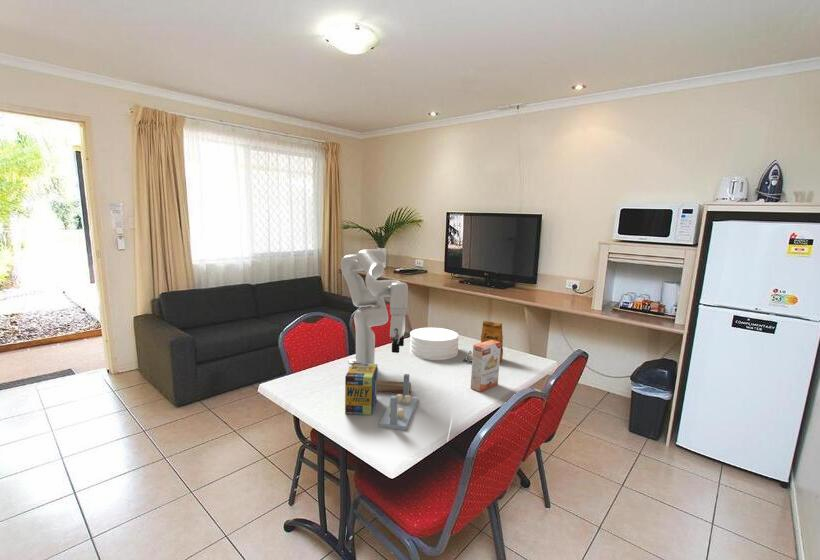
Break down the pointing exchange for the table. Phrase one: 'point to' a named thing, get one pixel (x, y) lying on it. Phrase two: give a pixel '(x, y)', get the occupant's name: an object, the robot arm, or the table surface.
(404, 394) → the stand
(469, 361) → the house of cards
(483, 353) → the cracker box
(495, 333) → the coffee package
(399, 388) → the board
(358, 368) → the protein box
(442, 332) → the plate stack
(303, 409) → the table surface
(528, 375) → the table surface
